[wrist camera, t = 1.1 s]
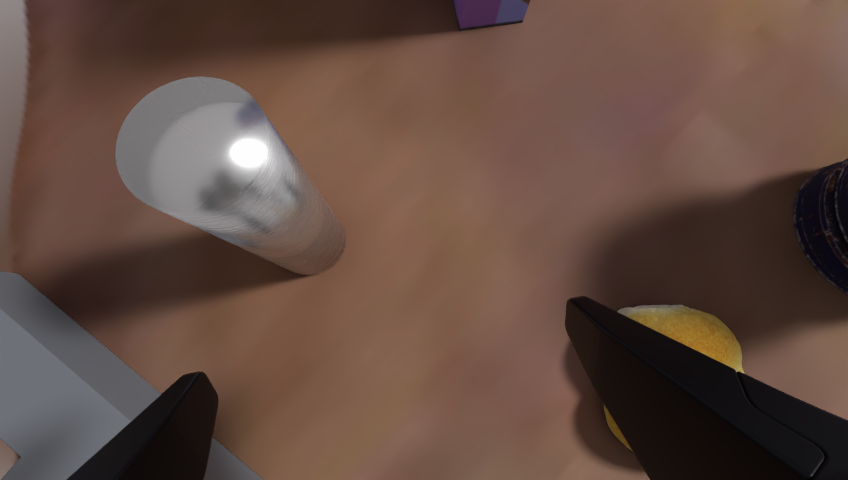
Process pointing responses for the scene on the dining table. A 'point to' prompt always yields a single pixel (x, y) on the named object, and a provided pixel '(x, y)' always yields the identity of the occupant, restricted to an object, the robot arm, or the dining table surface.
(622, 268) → the dining table surface
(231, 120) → the tall grey cylinder
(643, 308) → the bread roll
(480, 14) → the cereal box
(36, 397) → the jig
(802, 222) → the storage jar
